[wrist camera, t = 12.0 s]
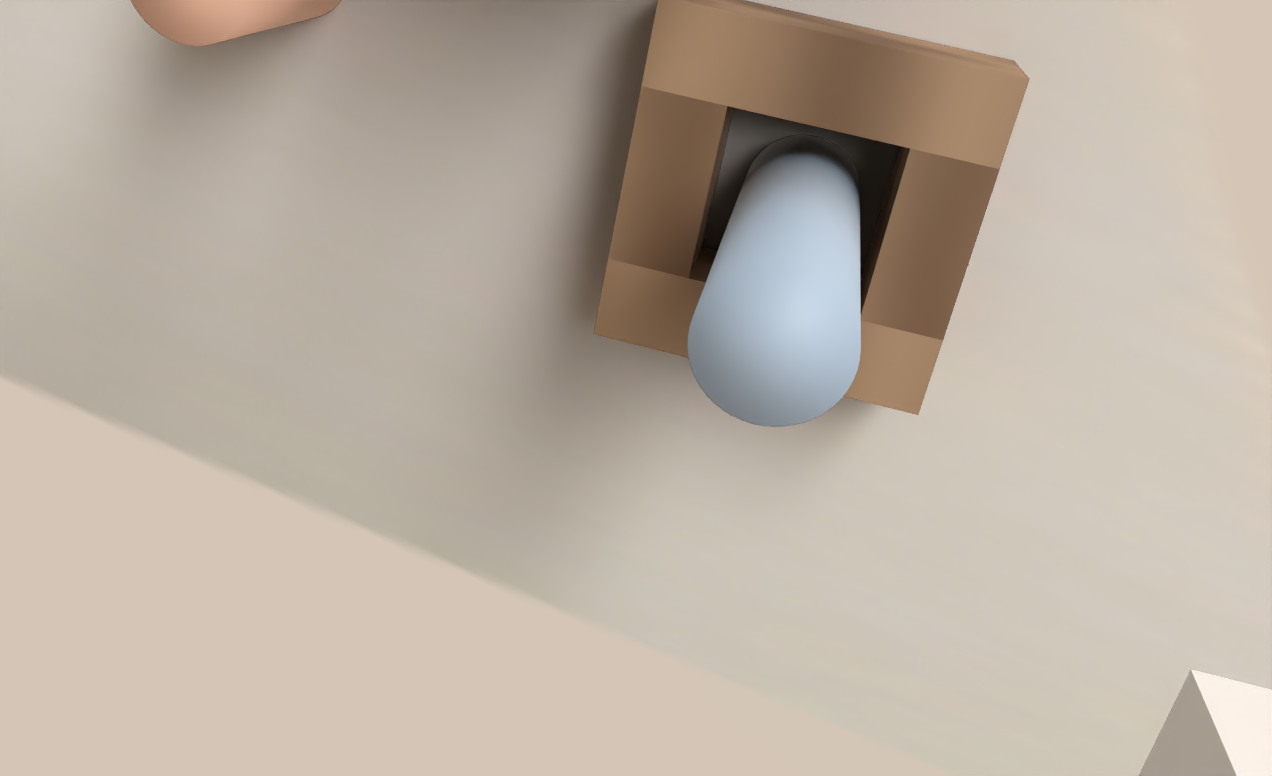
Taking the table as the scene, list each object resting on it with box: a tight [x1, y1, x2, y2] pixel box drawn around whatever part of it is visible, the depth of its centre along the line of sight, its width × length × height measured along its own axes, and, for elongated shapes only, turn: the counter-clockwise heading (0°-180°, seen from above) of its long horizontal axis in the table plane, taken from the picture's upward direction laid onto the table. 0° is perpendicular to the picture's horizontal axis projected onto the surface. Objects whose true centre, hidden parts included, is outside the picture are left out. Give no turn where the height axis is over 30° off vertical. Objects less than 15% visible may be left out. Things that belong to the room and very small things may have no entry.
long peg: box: [688, 135, 861, 427], centre depth 27 cm, size 3×3×12 cm
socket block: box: [594, 0, 1029, 415], centre depth 31 cm, size 9×9×3 cm
